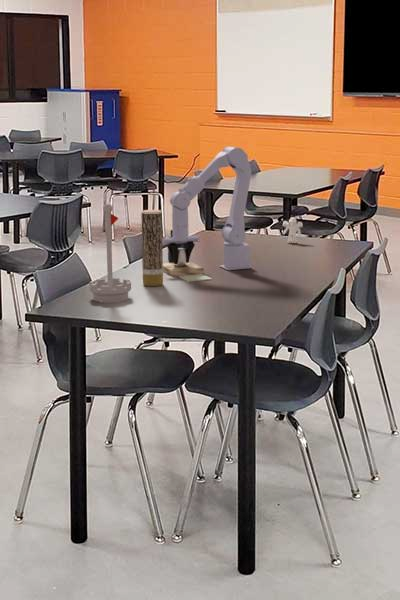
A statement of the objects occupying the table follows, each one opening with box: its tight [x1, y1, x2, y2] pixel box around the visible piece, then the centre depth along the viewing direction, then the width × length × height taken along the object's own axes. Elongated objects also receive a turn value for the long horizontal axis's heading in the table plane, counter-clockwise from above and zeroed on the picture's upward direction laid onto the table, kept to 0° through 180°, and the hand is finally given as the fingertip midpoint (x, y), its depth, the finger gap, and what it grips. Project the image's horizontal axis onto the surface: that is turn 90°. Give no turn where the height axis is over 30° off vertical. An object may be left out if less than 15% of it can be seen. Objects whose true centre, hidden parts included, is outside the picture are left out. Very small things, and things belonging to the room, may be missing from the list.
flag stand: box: [89, 203, 132, 303], centre depth 280 cm, size 13×13×30 cm
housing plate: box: [163, 261, 205, 277], centre depth 325 cm, size 12×14×2 cm
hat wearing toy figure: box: [282, 214, 303, 242], centre depth 383 cm, size 9×4×12 cm, turn 63°
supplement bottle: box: [167, 229, 184, 263], centre depth 344 cm, size 7×7×12 cm
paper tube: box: [140, 209, 164, 287], centre depth 300 cm, size 7×7×25 cm
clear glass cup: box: [175, 248, 186, 268], centre depth 324 cm, size 4×4×8 cm
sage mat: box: [178, 273, 213, 283], centre depth 312 cm, size 9×9×1 cm
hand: (180, 263), depth 324 cm, fingers closed on clear glass cup, 4 cm apart
